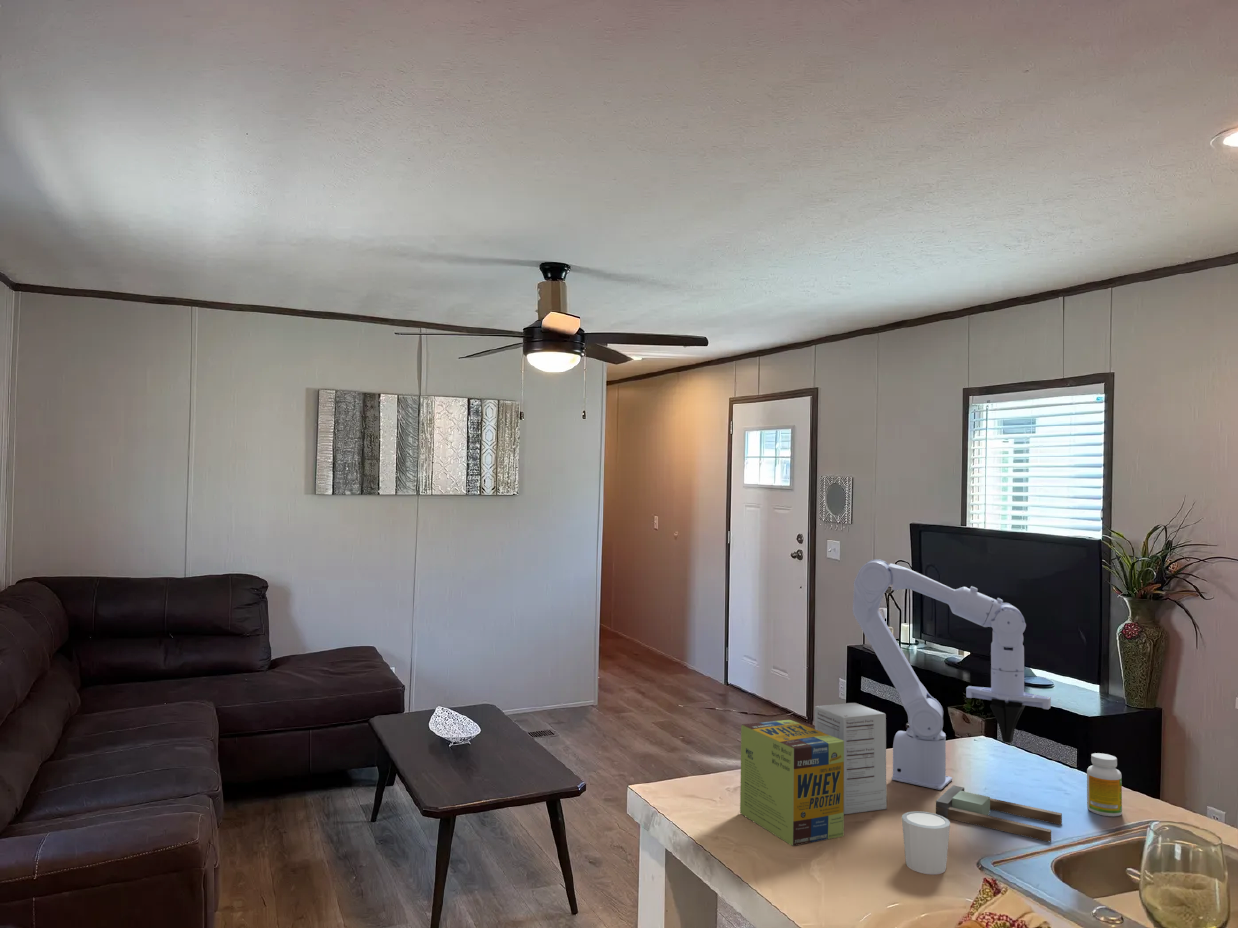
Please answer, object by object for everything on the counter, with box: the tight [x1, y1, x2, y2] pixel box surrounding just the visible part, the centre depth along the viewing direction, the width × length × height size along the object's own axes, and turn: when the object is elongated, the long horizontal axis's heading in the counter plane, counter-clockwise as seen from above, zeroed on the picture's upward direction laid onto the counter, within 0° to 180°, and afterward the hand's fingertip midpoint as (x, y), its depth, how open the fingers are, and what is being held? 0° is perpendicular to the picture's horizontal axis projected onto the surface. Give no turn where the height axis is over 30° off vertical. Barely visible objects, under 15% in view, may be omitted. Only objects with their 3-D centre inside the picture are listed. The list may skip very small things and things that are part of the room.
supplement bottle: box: [1086, 752, 1123, 817], centre depth 151 cm, size 5×5×10 cm
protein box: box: [739, 719, 845, 847], centre depth 143 cm, size 10×15×16 cm
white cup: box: [901, 810, 951, 875], centre depth 128 cm, size 7×7×7 cm
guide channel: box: [935, 784, 1063, 842], centre depth 147 cm, size 18×10×2 cm, turn 53°
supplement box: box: [814, 702, 887, 815], centre depth 154 cm, size 10×9×17 cm
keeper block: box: [952, 790, 991, 816], centre depth 149 cm, size 5×5×3 cm
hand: (1007, 741), depth 161 cm, fingers closed
